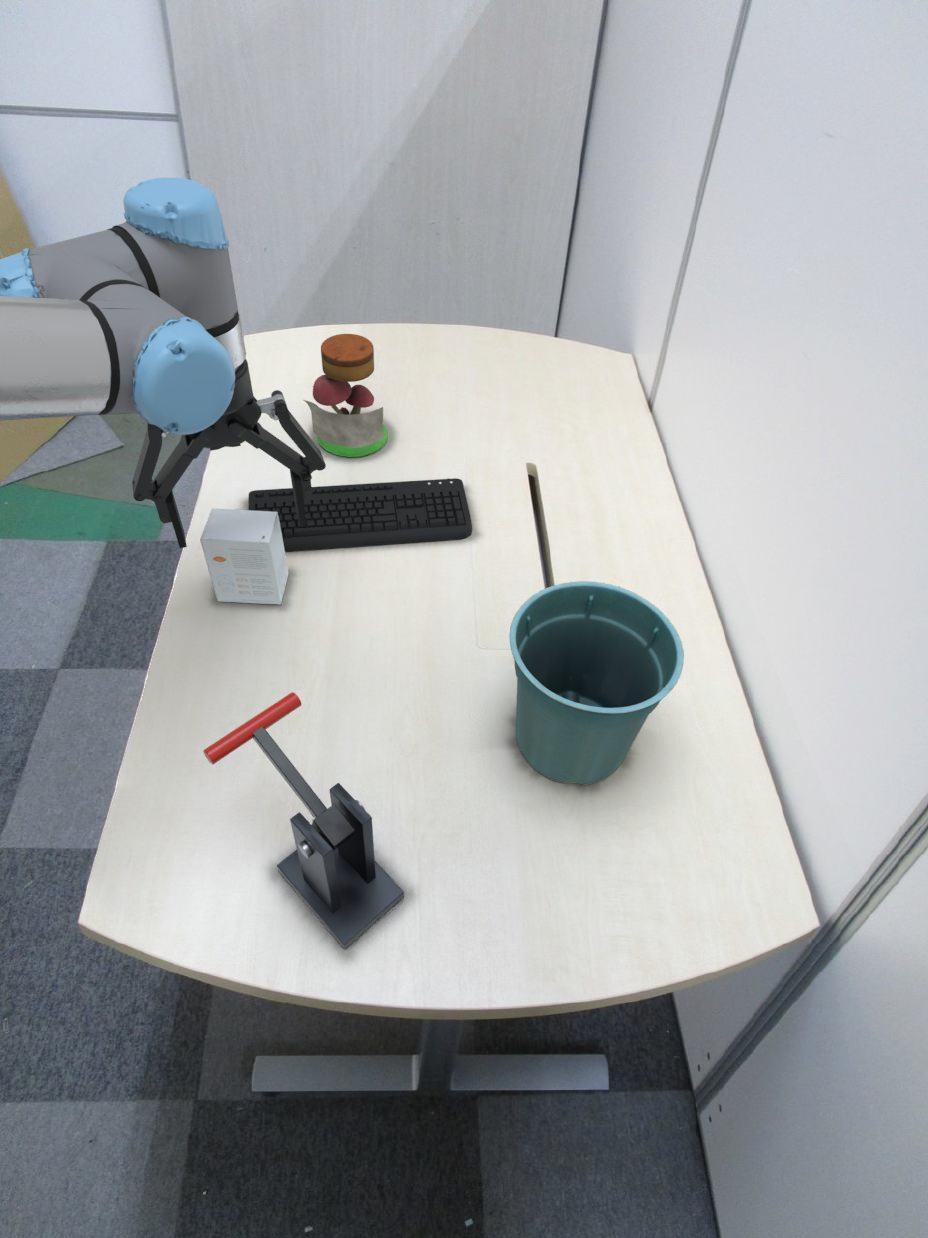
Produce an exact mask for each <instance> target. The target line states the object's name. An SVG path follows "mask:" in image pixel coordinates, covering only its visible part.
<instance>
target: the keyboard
mask: <svg viewBox="0 0 928 1238" xmlns="http://www.w3.org/2000/svg"><path fill="white" fill-rule="evenodd" d="M311 487H312V495H311V497H309V498H303V500H304V507H305V515H306V522H307V525H302V526H300V523H299V520H298V516H297V513H296V509H295V502H294V495H293V488H292V487H288V488H270V489H255V490H251V491H249V492H248V506H247V507H248V509H247V510H251V511H271V512H278V516H279V521H280V527H281V533H282V538H283V544H284V549H285V553H289V552H291V553H292V552H303V551H304V552H305V551H317V550H318V551H319V550H332V549H333V550H334V549H347V548H361V547H376V546H388V545H390V546H391V545H400V544H401V545H403V544H417V543H432V542H443V541H444V542H445V541H458V540H463V539H467V538H469V537H470V536H472V532H473V523H472V522H473V521H472V518H471V517H472V516H471V513H470V508H469V504H468V499H467V496H466V490H465V486H464V482H463V480H462V479H460V478H440V479H438V478H437V479H424V480H421V479H420V480H406V481H389V482H373V483H372V482H371V483H355V484H338V485H321V486H311Z"/></svg>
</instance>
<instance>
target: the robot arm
mask: <svg viewBox="0 0 928 1238" xmlns="http://www.w3.org/2000/svg"><path fill="white" fill-rule="evenodd" d="M217 199H218V198H217V197H216V195H215V194H214V193H213V191H212V190H211V189H210V188H208V186H205V185H203V184H201V183H200V182H198V181H196V180H192V179H186V178H183V177H158V178H152V179H147V180H143V181H141V182H139V183H138V184H136V186H132V187H130V188H128V189H127V190H126V192H125V193H124V196H123V208H124V209H123V210H124V213H123V217H124V219H125V221H124V222H122V223H119V224H116V225H113V226H112V227H111V228H107V229H105V230H104V229H103V230H101V231H96V232H93V233H88V234H84V235H81V236H76V237H72V238H69V239H64V240H62V241H61V240H60V241H57V242H53V243H49V244H46V245H41V246H38V247H34V248H30V247H28V248H27V247H26V248H24V249H22V251H20V252H17V253H14V254H11V255H9V256H5V257H2V258H0V422H3V421H18V420H35V419H50V418H69V417H82V416H85V417H86V416H116V415H118V416H119V415H134V414H136V415H139V416H140V417H141V418H142V420H144V421H145V422H146V426H147V427H146V432H145V436H144V439H143V444H142V446H141V449H140V452H139V456H138V460H137V463H136V467H135V470H134V473H133V478H132V481H131V487H132V495H133V499H134V500H135V501H136V502H142V501H145V500H150V501H152V502H153V503H154V506H155V508H156V511H157V514H158V517H159V520H160V522H161V523H162V524H163V525H164V524H169V523H171V524H172V527H173V530H174V534H175V537H176V540H177V544H178V546H179V549H183V548H184V549H185V548H187V546H188V545H187V540H186V535H185V529H184V526H183V524H182V519H181V516H180V513H179V509H178V506H177V501H176V499H175V496H174V492H173V489H174V488H175V486H176V485H177V483H178V482H179V480H180V479H181V478H182V477H183V475H184V474H185V472H186V470H187V469H188V467H189V466H190V465H191V463H192V462H193V461H194V460H195V459H197V458H198V457H199V455H200V454H201V453H202V451H203V450H204V448H205V449H209V451H211V452H212V451H216V450H221V449H222V448H237V447H241V445H242V444H243V443H245V442H246V443H247V444H249V445H250V446H251V447H253V448H255V449H256V450H258V449H259V450H261V451H262V452H263V453H265V454H267V455H268V456H270V457H271V458H272V459H273V460H275V461H277V462H278V463H280V464H281V465H282V466H284V467H286V468H287V469H289V474H290V481H291V488H293V495H294V502H295V509H296V513H297V516H298V520H299V523H300V526H302V525H307V522H306V515H305V507H304V500H303V498H309V497H311V495H312V487H313V486H312V479H313V476H312V473H314V472H315V471H318V472H319V471H323V470H325V469H326V467H327V464H326V461H325V459H324V456H323V454H322V451H321V450H320V448H319V447H318V445H317V444H316V443H315V442H314V441H313V439H312V438H311V437H310V435H309V434H308V433H307V432H306V431H305V429H304V428H303V427H302V425H301V424H300V422H299V421H298V420H297V419H296V417H295V416H294V415H293V414H292V412H291V411H290V410H289V407H288V405H287V402H286V399H285V396H284V394H283V391H281V390H279V389H275V390H273V391H272V392H271V394H270V397H266V398H261V399H257V398H256V397H255V395H254V391H253V386H252V381H251V380H252V379H251V374H250V368H249V362H248V360H247V358H246V357H247V351H246V350H247V349H246V344H245V339H244V333H243V328H242V322H241V321H242V320H241V317H240V313H239V308H238V301H237V296H236V288H235V283H234V276H233V271H232V265H231V258H230V253H229V252H230V251H229V247H230V241H229V239H228V237H227V234H226V228H225V224H224V220H223V215H222V212H221V209H220V205H219V203H218V200H217ZM262 414H266V415H268V416H269V418H270V419H272V420H273V421H278V422H279V425H280V426H281V428H282V429H283V431H284V432H285V433H286V434H287V435H288V437H289V438H290V439H291V440H292V442H293V443H294V444H295V445H296V447H297V448H298V449H299V450H300V452H301V453H302V454H303V455H304V456H303V455H301V454H300V453H299V452H298V451H296V450H295V449H294V448H292V447H290V446H289V445H288V444H286V443H285V442H284V441H282V440H281V439H279V438H278V437H277V436H275V435H274V434H273V433H271V432H270V431H268V430H267V429H265V428H264V427H263V425H262V424H261V423H260V422H259V420H260V418H261V416H262ZM169 434H174V435H179V436H180V440H179V441H178V443H177V444H176V446H175V447H174V448H173V450H172V452H171V453H170V455H169V456H168V458H167V459H166V461H165V462H164V463H163V465H162V467H161V468H160V469H159V471H158V473H156V476H155V477H154V479H153V476H154V472H155V469H156V466H157V463H158V460H159V456H160V453H161V450H162V446H163V438H166V437H167V436H168V435H169Z"/></svg>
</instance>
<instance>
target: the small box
mask: <svg viewBox="0 0 928 1238" xmlns="http://www.w3.org/2000/svg"><path fill="white" fill-rule="evenodd" d="M199 540H200V544H201V548H202V552H203V555H204V559H205V561H206V562H205V563H206V565H207V569H208V573H209V577H210V580H211V584H212V587H213V591H214V595H215V598H216V601H217V602H220V603H221V602H224V603H239V604H240V603H241V604H242V603H244V604H259V605H260V604H261V605H279V606H280V605H282V602H283V598H284V593H285V590H286V585H287V582H288V578H289V573H290V572H289V566H288V560H287V554H286V552H285V549H284V544H283V538H282V533H281V527H280V521H279V516H278V512H271V511H251V510H248V509H233V508H232V509H230V508H229V509H228V508H215V507H214V508H212V509H211V510H210V513H209V516H208V517H207V520H206V523H205V526H204V528H203V531H202V534H201V536H200V539H199Z"/></svg>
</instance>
